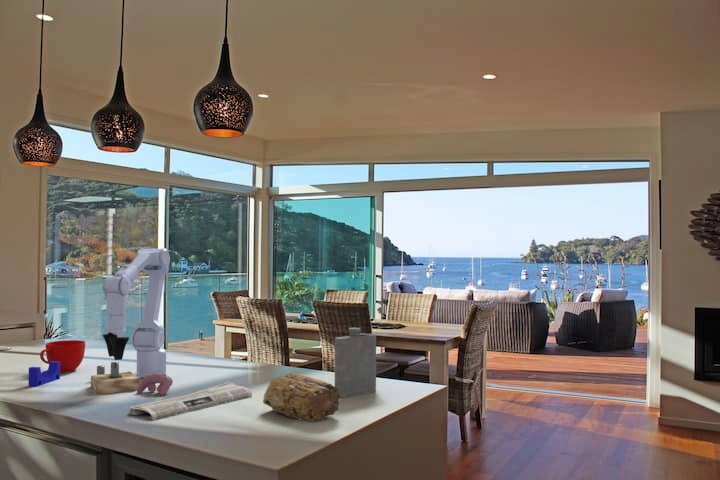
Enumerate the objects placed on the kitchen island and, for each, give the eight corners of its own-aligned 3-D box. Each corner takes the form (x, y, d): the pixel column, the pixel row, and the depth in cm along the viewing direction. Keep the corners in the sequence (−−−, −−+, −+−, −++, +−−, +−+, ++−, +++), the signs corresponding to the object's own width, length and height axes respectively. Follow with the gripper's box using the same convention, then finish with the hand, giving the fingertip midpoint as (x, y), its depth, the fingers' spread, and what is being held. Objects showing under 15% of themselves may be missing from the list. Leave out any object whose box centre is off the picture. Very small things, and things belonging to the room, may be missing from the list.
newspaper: (152, 422, 159) (152, 408, 159) (124, 414, 167) (125, 401, 167) (255, 397, 187) (255, 385, 187) (227, 391, 195) (227, 380, 195)
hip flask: (339, 399, 183) (339, 330, 184) (330, 396, 186) (330, 329, 187) (378, 391, 194) (378, 326, 195) (368, 389, 197) (369, 325, 198)
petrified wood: (346, 416, 163) (341, 379, 162) (306, 436, 155) (300, 398, 153) (302, 400, 178) (296, 366, 176) (263, 417, 169) (258, 382, 168)
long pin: (118, 387, 198) (118, 361, 198) (119, 388, 196) (119, 362, 196) (110, 387, 197) (110, 362, 197) (111, 389, 195) (111, 363, 195)
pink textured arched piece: (170, 398, 190) (176, 376, 193) (162, 394, 186) (168, 371, 189) (142, 396, 193) (149, 374, 196) (134, 392, 189) (141, 369, 192)
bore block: (130, 382, 205) (130, 371, 205) (139, 389, 195) (139, 378, 195) (90, 386, 198) (91, 375, 198) (98, 394, 188) (99, 382, 188)
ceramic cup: (26, 374, 217) (27, 345, 217) (66, 366, 233) (66, 339, 233) (54, 377, 212) (55, 348, 212) (93, 369, 228) (93, 341, 228)
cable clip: (47, 379, 211) (47, 361, 211) (59, 379, 210) (60, 361, 211) (24, 386, 199) (24, 367, 199) (37, 387, 199) (37, 368, 199)
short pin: (104, 378, 211) (104, 365, 211) (105, 379, 209) (105, 366, 209) (96, 379, 210) (96, 365, 210) (97, 380, 208) (97, 367, 208)
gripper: (97, 313, 201) (97, 355, 201) (107, 317, 189) (107, 362, 189) (120, 312, 205) (120, 353, 205) (131, 316, 193) (131, 360, 193)
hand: (115, 357), depth 197 cm, fingers open, 7 cm apart
